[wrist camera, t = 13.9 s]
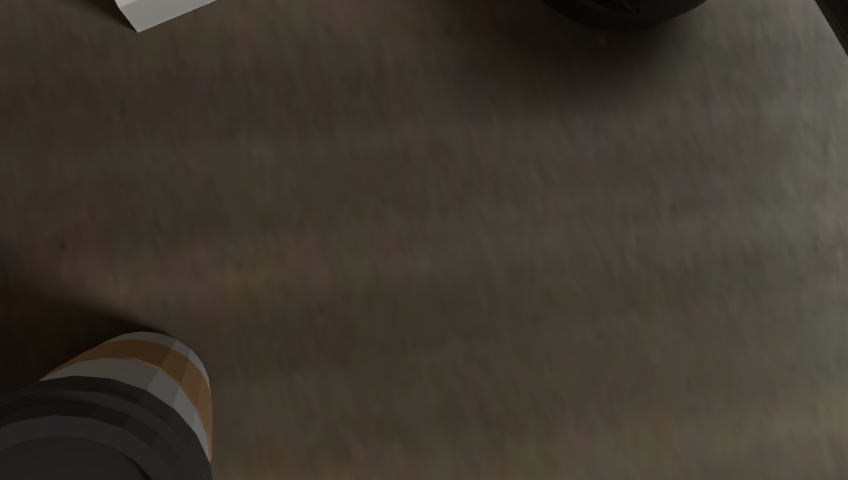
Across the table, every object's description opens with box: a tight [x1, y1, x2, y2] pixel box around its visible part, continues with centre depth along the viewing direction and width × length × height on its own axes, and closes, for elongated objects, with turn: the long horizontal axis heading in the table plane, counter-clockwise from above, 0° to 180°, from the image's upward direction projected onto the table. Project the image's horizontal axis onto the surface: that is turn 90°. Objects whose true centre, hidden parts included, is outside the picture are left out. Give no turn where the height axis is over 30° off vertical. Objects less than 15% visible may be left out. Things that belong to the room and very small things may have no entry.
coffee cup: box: [0, 331, 212, 480], centre depth 27 cm, size 8×8×15 cm
